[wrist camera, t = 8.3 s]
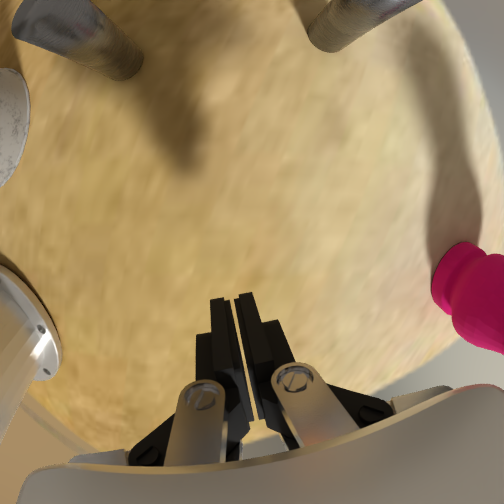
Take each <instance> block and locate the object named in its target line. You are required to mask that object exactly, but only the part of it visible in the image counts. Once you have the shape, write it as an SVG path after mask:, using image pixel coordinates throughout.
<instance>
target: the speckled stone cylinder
mask: <svg viewBox="0 0 504 504" xmlns="http://www.w3.org/2000/svg"><path fill="white" fill-rule="evenodd" d="M29 124H30V98H29V91H28V88H27V85H26V82H25V80H24V79H23V77H22V76H21V74H20V73H18V72H17V71H15V70H14V69H9V68H0V187H1V186H3V185H4V184H5V183H6V182H7V181H8V179H9V178H10V177H11V176H12V174H13V173H14V171H15V169H16V167H17V166H18V164H19V161H20V159H21V156H22V154H23V151H24V147H25V144H26V140H27V137H28V130H29Z"/></svg>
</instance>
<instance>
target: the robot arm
mask: <svg viewBox="0 0 504 504" xmlns="http://www.w3.org/2000/svg"><path fill="white" fill-rule="evenodd" d="M234 302H235V308H236V313H237V318H238V323H239V329H240V334H241V339H242V344H243V349H244V354H245V359H246V364H247V368H248V373H249V378H250V382H251V387H252V391H253V395H254V400H255V404H256V408H257V413H258V417H259V420H261V419H265V421H266V425H267V427H268V428H270V429H272V430H274V431H276V432H279V436H280V438H281V440H282V443H283V445H284V447H285V449H286V450H287V451H286V452H282V453H277V454H273V455H268V456H263V457H257V458H251V459H246V460H242V450H243V443H242V438H243V437H244V436H245V435H246V434H247V433H248V432H249V430H250V426H249V422H251V421H254V416H253V412H252V407H251V402H250V397H249V392H248V387H247V382H246V376H245V371H244V366H243V361H242V356H241V351H240V346H239V342H238V337H237V332H236V328H235V323H234V318H233V314H232V309H231V304H230V300H226V301H224V297H222V298H217V299H211V300H210V312H211V332H209V333H203V334H197V335H196V381H195V382H192V383H190V384H188V385H187V386H185V388H184V389H183V390H182V391H181V393H180V395H179V399H178V403H177V407H176V412H175V413H174V414H173V415H172V416H171V417H169V418H168V419H167V420H166V421H165V422H163V423H162V424H161V425H160V426H159V427H157V428H156V429H155V430H154V431H152V432H151V433H150V434H149V435H147V436H146V437H145V438H144V439H142V440H141V441H140V442H139V443H137V444H136V445H135V446H134V447H133V448H132V449H131V450H130V451H126V450H125V449H120V450H114V451H107V452H100V453H93V454H83V455H78V456H75V457H73V458H72V459H71V460H70V461H69V462H68V463H63V464H54V465H50V466H45V467H42V468H39V469H37V470H35V471H33V472H31V473H30V474H29V475H28V477H27V478H26V480H25V481H24V483H23V485H22V487H21V490H20V493H19V496H18V500H17V503H16V504H504V390H502V389H501V388H499V387H497V386H495V385H491V384H475V385H470V386H464V387H461V388H456V389H452V388H451V387H449V386H444V385H443V386H436V387H433V388H429V389H425V390H422V391H418V392H414V393H410V394H406V395H401V396H397V397H392V398H391V401H384V400H381V399H379V398H375V397H371V396H368V395H364V394H360V393H357V392H353V391H350V390H346V389H343V388H340V387H336V386H333V385H330V384H327V383H325V381H324V380H323V379H322V377H321V376H320V375H319V373H318V372H317V371H316V370H315V369H314V368H313V367H312V366H310V365H308V364H306V363H301V362H295V359H294V357H293V354H292V352H291V349H290V347H289V345H288V342H287V340H286V337H285V335H284V332H283V330H282V327H281V325H280V323H279V321H278V319H277V320H273V321H268V322H263V323H262V322H261V319H260V316H259V313H258V309H257V306H256V303H255V300H254V297H253V293H252V292H249V293H244V294H239V298H237V299H234ZM61 362H62V349H61V343H60V340H59V337H58V334H57V331H56V329H55V327H54V325H53V323H52V321H51V319H50V317H49V315H48V314H47V312H46V310H45V309H44V307H43V305H42V304H41V303H40V301H39V300H38V299H37V297H36V296H35V294H34V293H33V292H32V291H31V290H30V289H29V288H28V286H27V285H26V284H25V283H24V282H23V281H22V280H21V279H20V278H19V277H18V276H16V275H15V274H14V273H13V272H11V271H10V270H9V269H7V268H6V267H4V266H2V265H0V444H1V441H2V439H3V437H4V435H5V433H6V430H7V428H8V426H9V424H10V421H11V420H12V418H13V416H14V414H15V412H16V410H17V408H18V406H19V404H20V402H21V400H22V399H23V397H24V395H25V393H26V391H27V389H28V388H29V386H30V384H31V382H32V381H33V380H36V381H45V380H49V379H51V378H52V377H54V376H55V374H56V373H57V371H58V369H59V368H60V365H61Z"/></svg>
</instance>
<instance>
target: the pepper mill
mask: <svg viewBox="0 0 504 504" xmlns="http://www.w3.org/2000/svg"><path fill="white" fill-rule="evenodd" d="M432 297H433V300H434V302H435V303H436V304H437V305H438V306H439V307H440V308H441V309H442V310H443V311H444V312H445V313H446V314H448V315H452V322H453V326H454V328H455V330H456V332H457V333H458V334H459V335H460V336H461V337H462V338H464V339H465V340H466V341H467V342H469V343H471V344H473V345H475V346H477V347H481V348H485V349H488V350H492V351H496V352H498V353H501V354H503V355H504V255H501V254H490V255H486V253H485V252H484V251H483V250H482V249H480V248H478V247H477V246H475V245H473V244H472V243H469V242H462V243H459V244H457V245H455V246H454V247H452V248H451V249H450V250H449V251H448V252H447V253H446V254H445V256H444V257H443V258H442V260H441V261H440V263H439V265H438V267H437V269H436V272H435V274H434V277H433V282H432Z"/></svg>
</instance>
